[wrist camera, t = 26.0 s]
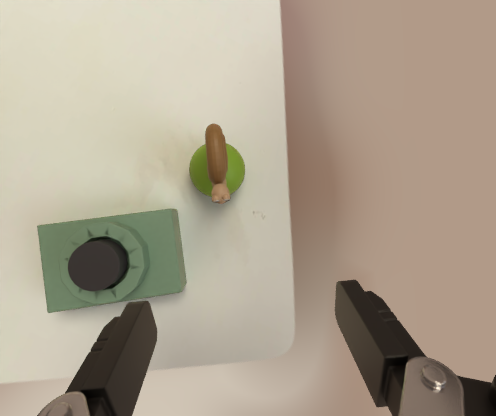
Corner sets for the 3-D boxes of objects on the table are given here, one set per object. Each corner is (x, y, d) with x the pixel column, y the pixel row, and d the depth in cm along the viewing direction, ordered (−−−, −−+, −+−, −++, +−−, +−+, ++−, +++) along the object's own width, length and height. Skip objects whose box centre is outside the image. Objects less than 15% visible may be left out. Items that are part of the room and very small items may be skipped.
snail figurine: (197, 211, 28) (178, 208, 16) (189, 152, 28) (164, 105, 16) (247, 204, 28) (263, 197, 16) (239, 147, 28) (250, 98, 17)
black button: (124, 236, 23) (116, 238, 21) (130, 281, 23) (122, 287, 21) (77, 242, 22) (64, 245, 21) (82, 288, 22) (70, 295, 20)
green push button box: (177, 209, 28) (167, 208, 23) (186, 283, 28) (178, 298, 23) (59, 224, 26) (21, 226, 22) (68, 301, 26) (32, 321, 21)
